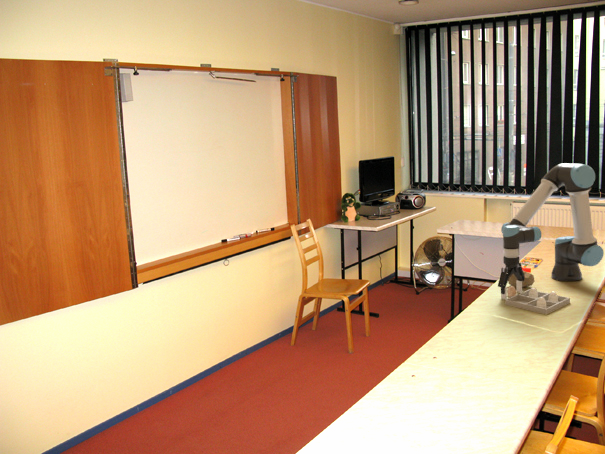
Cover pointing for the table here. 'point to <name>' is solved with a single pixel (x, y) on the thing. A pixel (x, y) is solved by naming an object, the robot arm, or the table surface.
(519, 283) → the robot arm
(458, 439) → the table surface
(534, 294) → the white egg
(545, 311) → the carton
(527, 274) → the low-poly potato
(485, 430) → the table surface
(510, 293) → the brown egg
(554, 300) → the white egg
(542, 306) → the white egg
